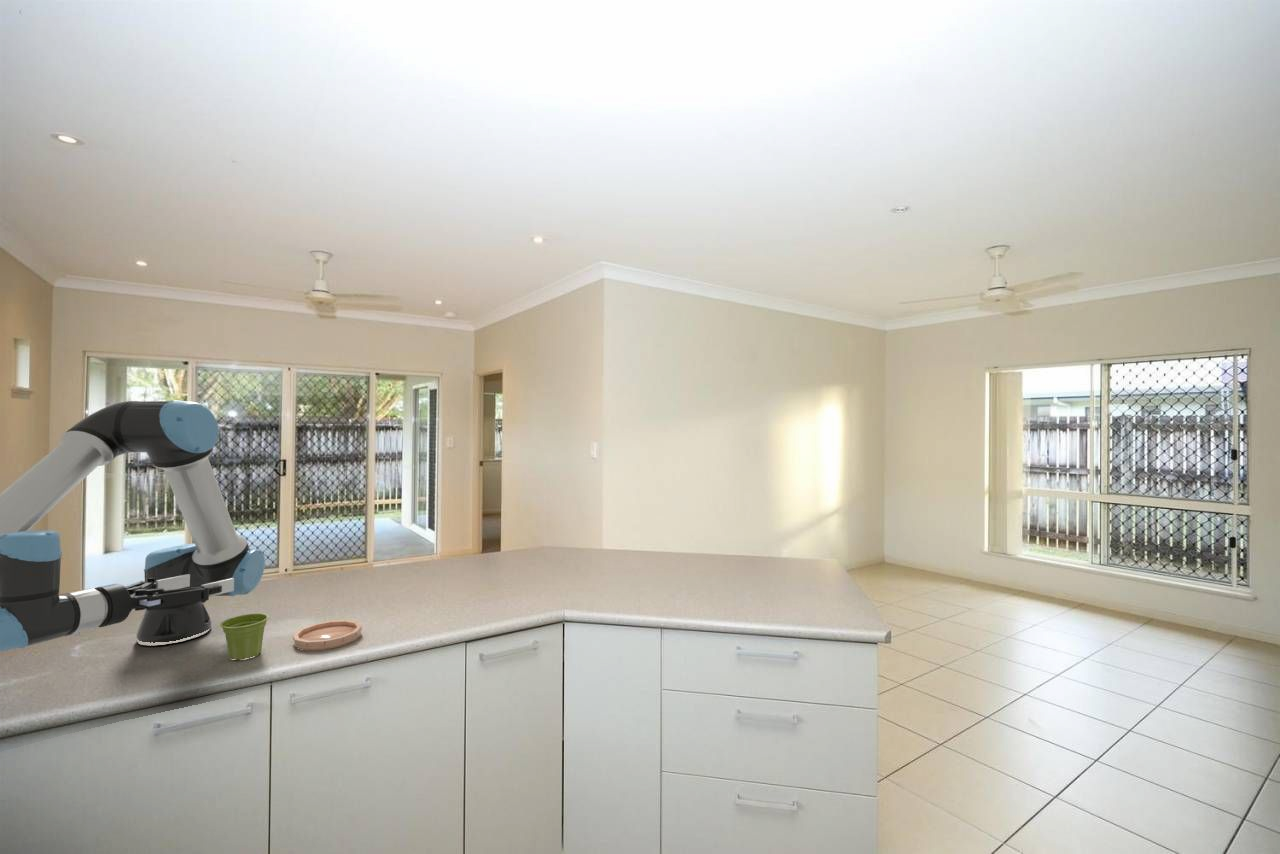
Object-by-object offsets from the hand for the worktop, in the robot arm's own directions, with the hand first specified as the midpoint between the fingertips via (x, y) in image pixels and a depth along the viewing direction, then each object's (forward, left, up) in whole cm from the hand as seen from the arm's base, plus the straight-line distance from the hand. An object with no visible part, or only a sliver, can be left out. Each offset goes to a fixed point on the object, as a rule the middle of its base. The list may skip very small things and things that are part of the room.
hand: (210, 582), depth 128 cm
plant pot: (0, +8, -20) cm, 21 cm away
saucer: (+9, +23, -20) cm, 31 cm away
